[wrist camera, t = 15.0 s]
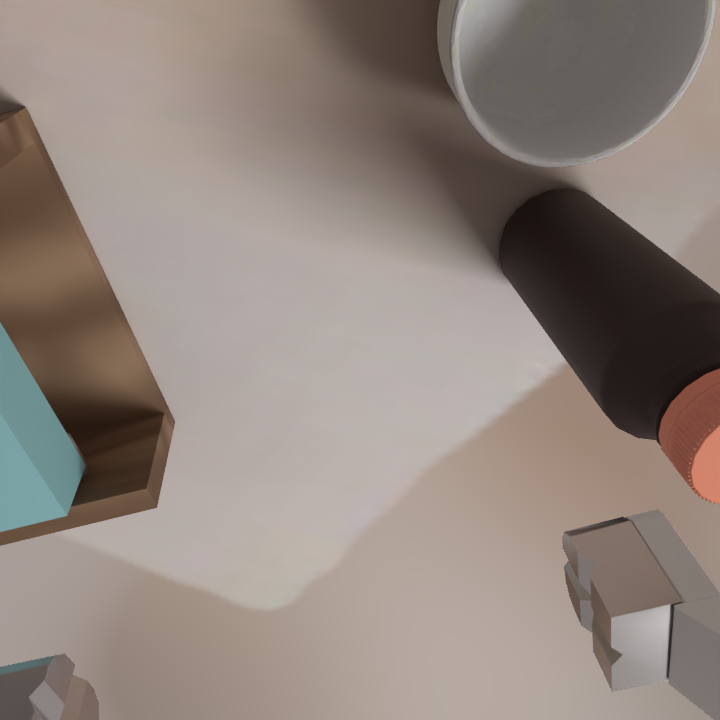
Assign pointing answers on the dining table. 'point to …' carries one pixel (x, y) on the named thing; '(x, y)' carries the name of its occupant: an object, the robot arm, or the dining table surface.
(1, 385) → the shelf board
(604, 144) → the teacup
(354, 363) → the dining table surface
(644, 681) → the robot arm
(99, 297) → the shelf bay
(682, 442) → the bottle
